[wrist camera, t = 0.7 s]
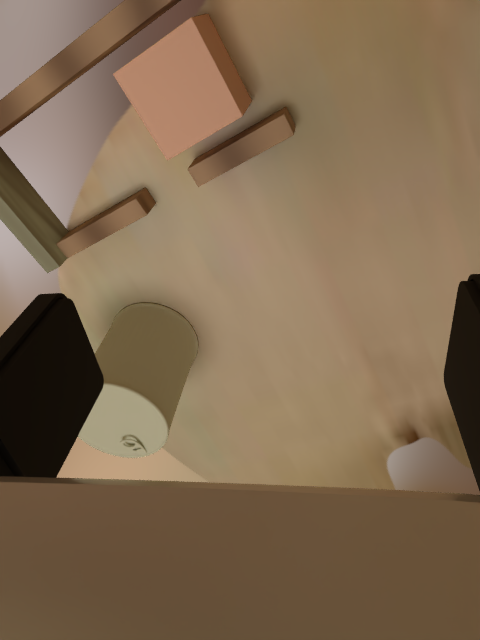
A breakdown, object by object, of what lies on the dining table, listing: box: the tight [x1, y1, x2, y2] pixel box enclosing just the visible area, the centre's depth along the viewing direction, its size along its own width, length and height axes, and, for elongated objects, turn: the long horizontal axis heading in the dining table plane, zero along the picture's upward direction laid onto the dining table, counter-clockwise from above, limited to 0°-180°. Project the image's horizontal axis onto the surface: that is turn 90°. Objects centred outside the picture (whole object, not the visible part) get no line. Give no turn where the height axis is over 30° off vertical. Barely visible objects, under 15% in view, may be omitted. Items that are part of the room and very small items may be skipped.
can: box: [78, 303, 198, 458], centre depth 43 cm, size 9×9×12 cm
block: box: [113, 14, 252, 160], centre depth 31 cm, size 6×6×5 cm
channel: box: [0, 0, 295, 273], centre depth 34 cm, size 24×12×4 cm, turn 120°
